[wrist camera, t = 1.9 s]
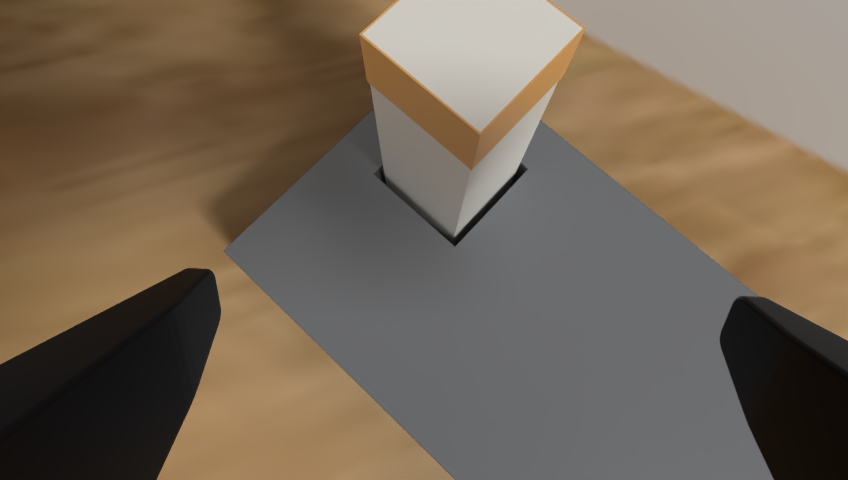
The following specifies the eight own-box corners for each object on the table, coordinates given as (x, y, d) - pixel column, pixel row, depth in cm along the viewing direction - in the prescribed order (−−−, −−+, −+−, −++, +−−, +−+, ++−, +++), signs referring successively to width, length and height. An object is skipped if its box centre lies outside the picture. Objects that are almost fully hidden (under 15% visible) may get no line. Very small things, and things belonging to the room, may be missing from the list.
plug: (508, 191, 23) (585, 28, 12) (450, 253, 22) (480, 135, 12) (444, 137, 24) (466, -63, 13) (385, 195, 23) (358, 34, 12)
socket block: (809, 386, 22) (869, 386, 19) (628, 641, 19) (665, 687, 16) (440, 81, 25) (443, 42, 22) (247, 267, 23) (223, 250, 20)
